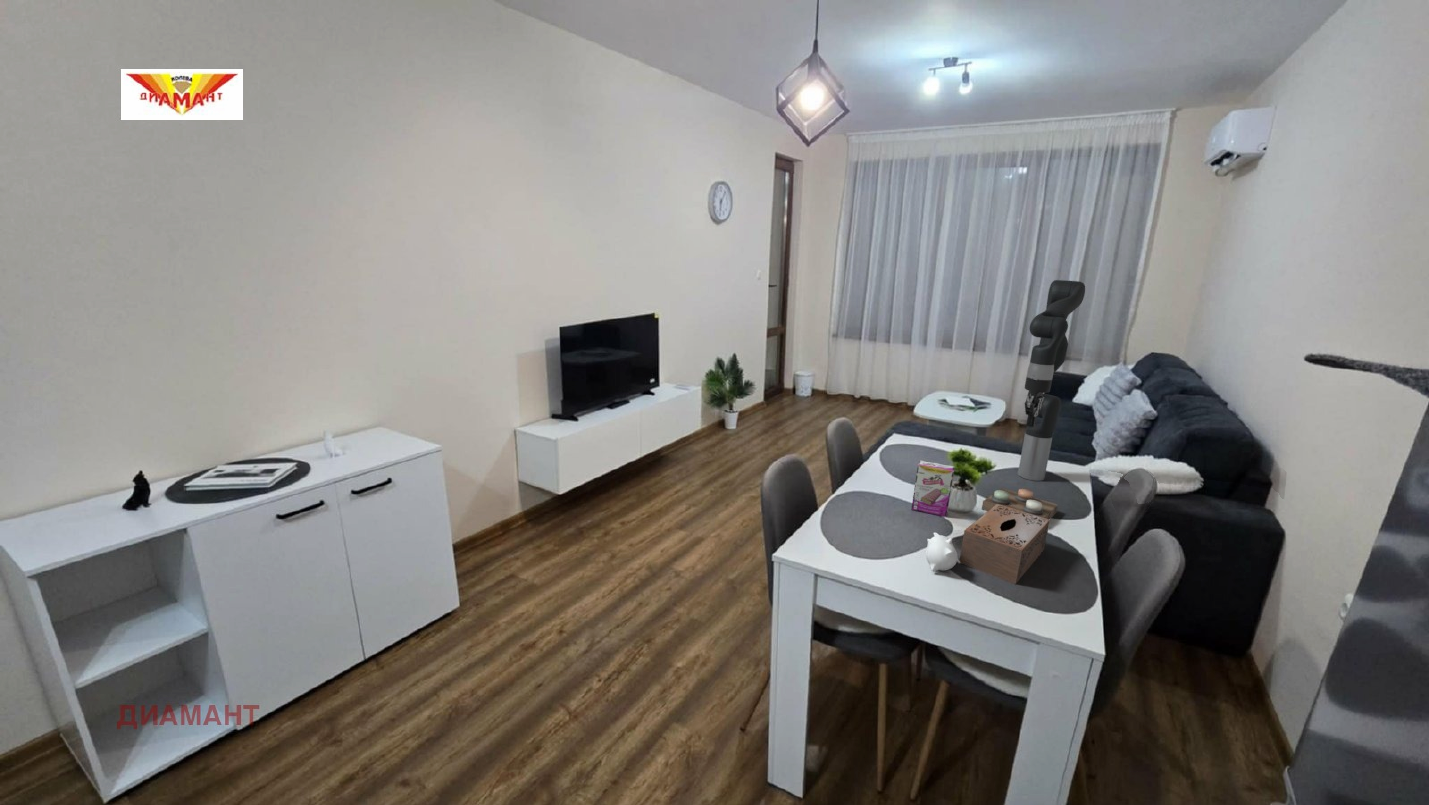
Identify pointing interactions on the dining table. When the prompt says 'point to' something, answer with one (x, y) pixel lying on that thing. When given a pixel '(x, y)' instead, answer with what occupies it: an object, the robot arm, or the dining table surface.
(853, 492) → the dining table surface
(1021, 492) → the terracotta button
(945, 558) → the cat figurine
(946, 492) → the candy bar box
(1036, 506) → the cream button
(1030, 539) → the tissue box cover
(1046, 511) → the walnut button panel
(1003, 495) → the sage-green button
